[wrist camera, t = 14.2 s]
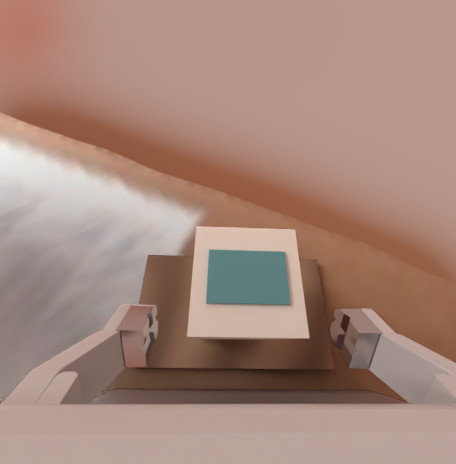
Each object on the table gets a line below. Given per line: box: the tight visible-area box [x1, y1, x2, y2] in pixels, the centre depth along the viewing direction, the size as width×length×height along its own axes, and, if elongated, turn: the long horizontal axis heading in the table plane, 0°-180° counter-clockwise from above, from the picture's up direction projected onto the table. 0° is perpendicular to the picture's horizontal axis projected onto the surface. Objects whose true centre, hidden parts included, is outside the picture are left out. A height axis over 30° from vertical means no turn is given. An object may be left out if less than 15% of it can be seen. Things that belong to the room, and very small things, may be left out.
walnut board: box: [139, 255, 335, 369], centre depth 20 cm, size 16×9×1 cm, turn 89°
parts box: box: [187, 226, 309, 340], centre depth 15 cm, size 5×5×10 cm
